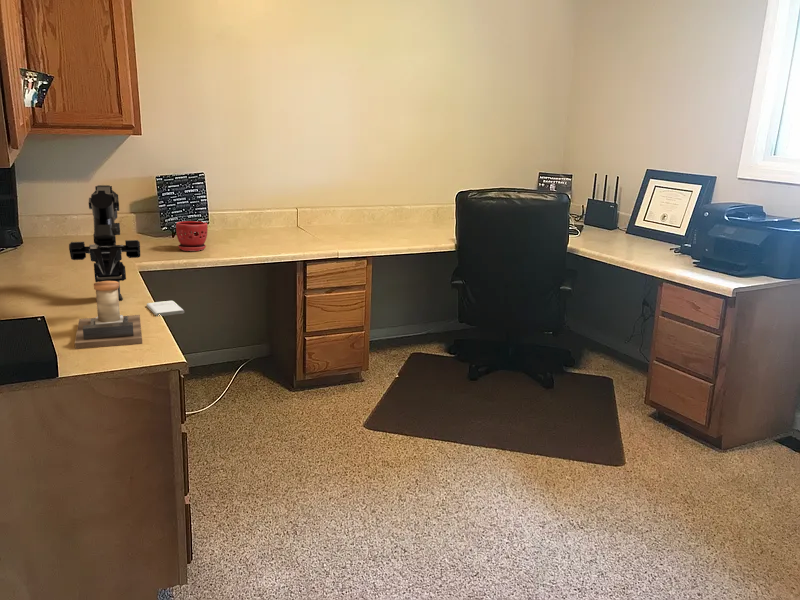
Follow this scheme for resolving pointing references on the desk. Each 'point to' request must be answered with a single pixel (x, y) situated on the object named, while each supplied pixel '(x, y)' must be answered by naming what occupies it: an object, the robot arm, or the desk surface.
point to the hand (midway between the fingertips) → (106, 274)
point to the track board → (109, 341)
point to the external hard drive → (165, 308)
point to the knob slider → (107, 302)
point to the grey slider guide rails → (108, 330)
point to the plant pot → (191, 235)
